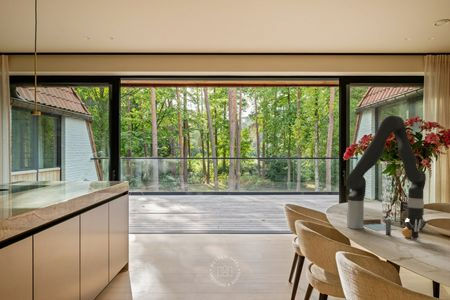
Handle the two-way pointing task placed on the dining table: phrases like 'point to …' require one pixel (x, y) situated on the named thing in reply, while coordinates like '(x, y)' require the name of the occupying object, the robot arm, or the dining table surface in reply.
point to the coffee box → (403, 212)
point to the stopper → (372, 221)
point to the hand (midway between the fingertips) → (414, 238)
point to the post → (388, 226)
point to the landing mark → (377, 227)
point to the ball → (407, 232)
